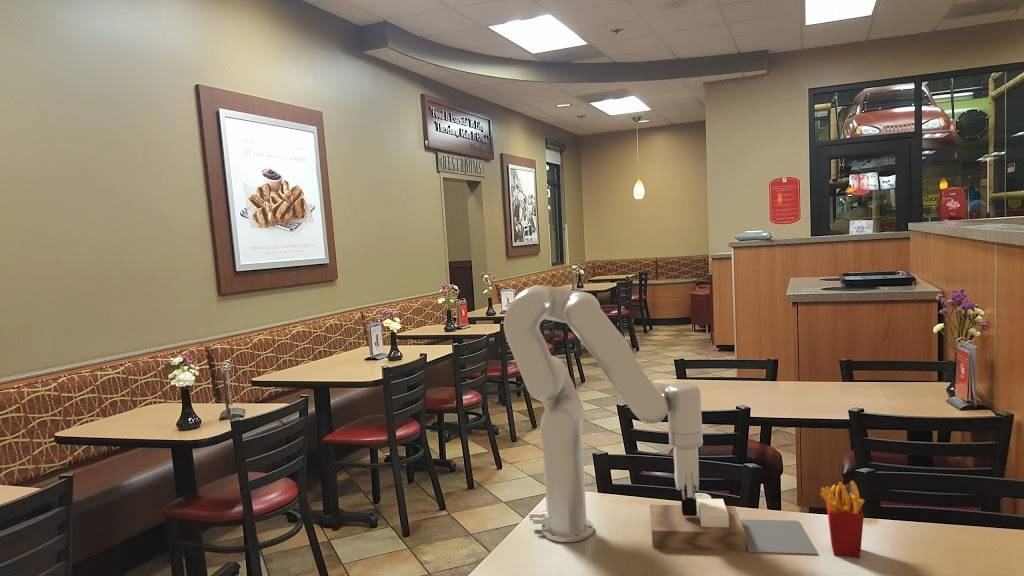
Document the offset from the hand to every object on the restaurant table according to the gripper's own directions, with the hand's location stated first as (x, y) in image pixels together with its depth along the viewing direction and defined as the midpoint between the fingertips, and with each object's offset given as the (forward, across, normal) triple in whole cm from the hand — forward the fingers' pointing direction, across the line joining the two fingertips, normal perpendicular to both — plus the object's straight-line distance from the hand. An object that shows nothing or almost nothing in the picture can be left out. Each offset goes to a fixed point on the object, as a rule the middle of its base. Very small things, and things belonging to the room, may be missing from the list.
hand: (689, 514), depth 147 cm
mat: (+5, 0, +19) cm, 19 cm away
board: (+5, 0, +1) cm, 5 cm away
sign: (+6, -16, +4) cm, 17 cm away
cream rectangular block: (+1, 0, +5) cm, 5 cm away
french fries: (+5, +5, +31) cm, 32 cm away
